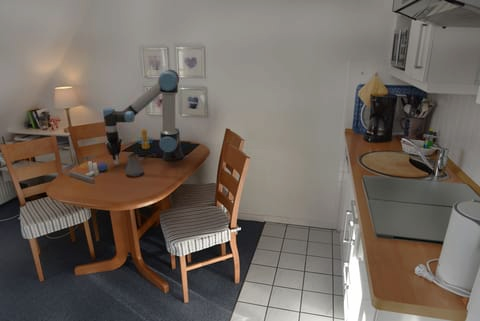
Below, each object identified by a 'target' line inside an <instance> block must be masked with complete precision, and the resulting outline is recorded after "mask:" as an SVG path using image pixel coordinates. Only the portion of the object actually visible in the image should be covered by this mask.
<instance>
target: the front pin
mask: <svg viewBox="0 0 480 321" xmlns="http://www.w3.org/2000/svg"><path fill="white" fill-rule="evenodd" d="M99 173H100V170H98V174H99ZM84 175H85V176H88V177H92V176H94V170H93V172H87V173H85V174H84Z"/></svg>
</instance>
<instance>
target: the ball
mask: <svg viewBox="0 0 480 321" xmlns="http://www.w3.org/2000/svg"><path fill="white" fill-rule="evenodd" d="M97 169H98V171H99V172H105V171H107V169H108V164H107V163H105V162H104V161H103V162H99V163H98V164H97Z"/></svg>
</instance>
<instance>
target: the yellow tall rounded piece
mask: <svg viewBox="0 0 480 321" xmlns="http://www.w3.org/2000/svg"><path fill="white" fill-rule="evenodd" d="M147 132H148V131H147V129H141V138H138V139H137V143H138V144H141V148H142V149H144V150H147V149H150V147H151V146H150V143H153V139H154V138H152V137H151V136H150V137H149V136H148V133H147ZM149 139H151V141H150V140H149Z"/></svg>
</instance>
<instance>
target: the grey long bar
mask: <svg viewBox="0 0 480 321" xmlns="http://www.w3.org/2000/svg"><path fill="white" fill-rule="evenodd" d="M68 174H69V176H70V177H71V178H74V179H78V180H80V181H84V182H88V183H90V184H93V183H94V184H95V183H96V180H95V178H94V177H92V176H90V177H88V176H85V174H82V173H78V172H76V171H75V172H74V171H70V172H68Z"/></svg>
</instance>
